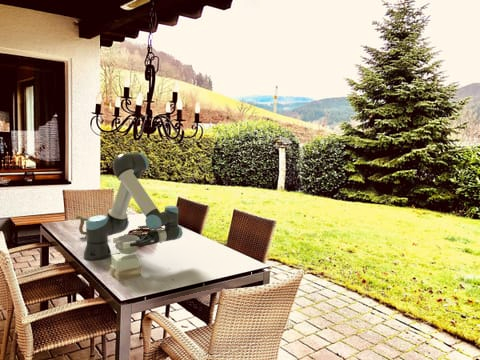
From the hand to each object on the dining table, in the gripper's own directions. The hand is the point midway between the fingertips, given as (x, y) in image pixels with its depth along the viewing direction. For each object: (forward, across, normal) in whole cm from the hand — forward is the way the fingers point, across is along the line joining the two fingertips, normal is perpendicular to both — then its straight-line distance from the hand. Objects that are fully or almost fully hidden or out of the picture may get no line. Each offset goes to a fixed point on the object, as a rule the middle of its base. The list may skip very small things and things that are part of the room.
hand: (118, 243), depth 198 cm
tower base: (-4, 0, -18) cm, 18 cm away
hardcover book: (-59, +66, -18) cm, 90 cm away
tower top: (-4, 0, -13) cm, 13 cm away
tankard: (-16, +76, -18) cm, 80 cm away
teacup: (-4, 0, -6) cm, 7 cm away
